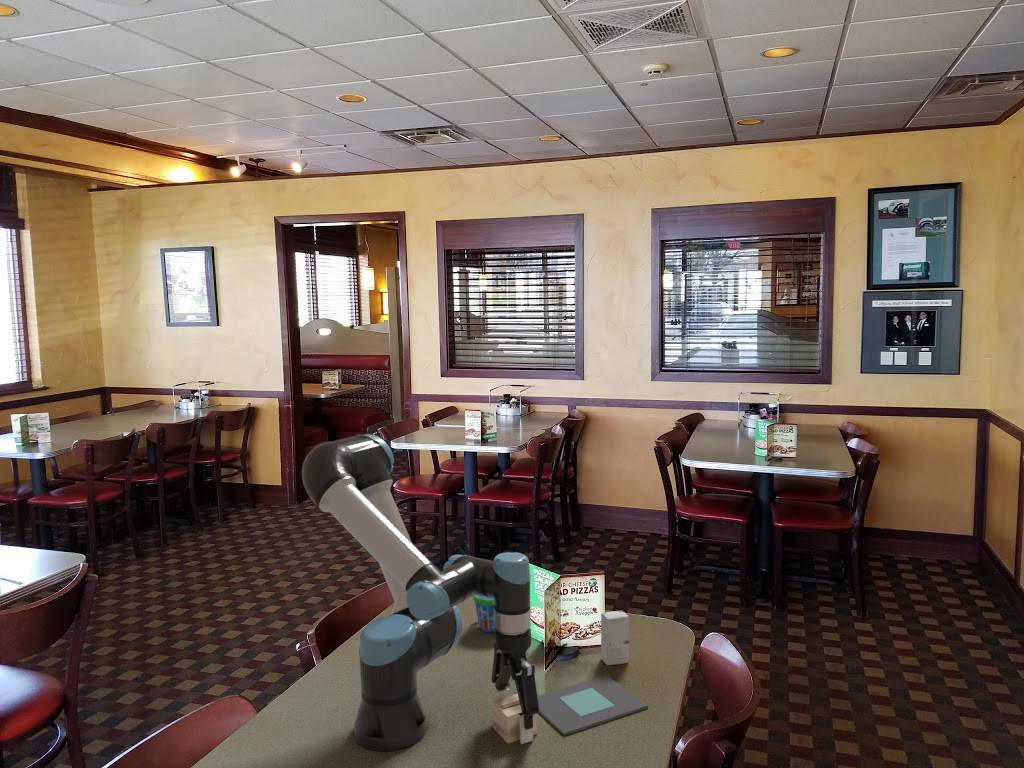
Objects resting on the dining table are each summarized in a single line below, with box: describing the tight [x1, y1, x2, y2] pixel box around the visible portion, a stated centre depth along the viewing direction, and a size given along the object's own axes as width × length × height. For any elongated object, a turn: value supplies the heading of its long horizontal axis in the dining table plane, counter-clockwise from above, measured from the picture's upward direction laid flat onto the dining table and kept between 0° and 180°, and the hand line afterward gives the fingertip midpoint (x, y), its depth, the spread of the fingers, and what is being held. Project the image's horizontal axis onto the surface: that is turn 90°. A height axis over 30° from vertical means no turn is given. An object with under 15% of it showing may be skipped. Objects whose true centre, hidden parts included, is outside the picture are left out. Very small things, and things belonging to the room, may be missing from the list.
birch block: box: [491, 693, 538, 744], centre depth 158 cm, size 7×7×6 cm
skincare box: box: [600, 610, 630, 666], centre depth 189 cm, size 6×4×12 cm
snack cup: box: [472, 595, 496, 633], centre depth 209 cm, size 16×10×10 cm
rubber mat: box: [537, 674, 649, 737], centre depth 169 cm, size 22×16×1 cm
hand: (515, 729), depth 159 cm, fingers open, 9 cm apart
